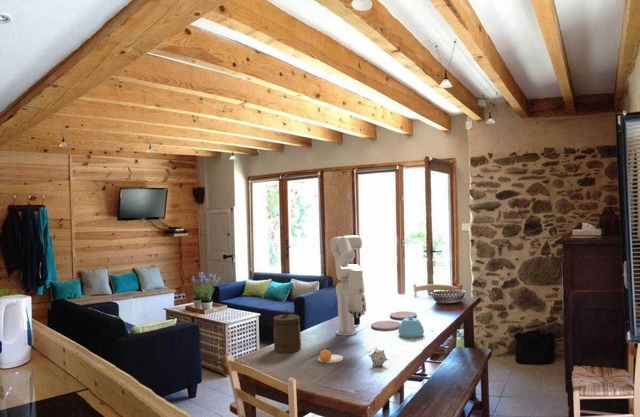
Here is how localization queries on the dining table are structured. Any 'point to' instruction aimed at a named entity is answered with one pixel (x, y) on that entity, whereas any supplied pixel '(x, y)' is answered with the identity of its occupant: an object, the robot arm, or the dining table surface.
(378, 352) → the game die
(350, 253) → the robot arm
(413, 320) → the sugar bowl
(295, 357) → the dining table surface
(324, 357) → the ball
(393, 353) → the dining table surface
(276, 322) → the wooden container
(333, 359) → the cream disc
